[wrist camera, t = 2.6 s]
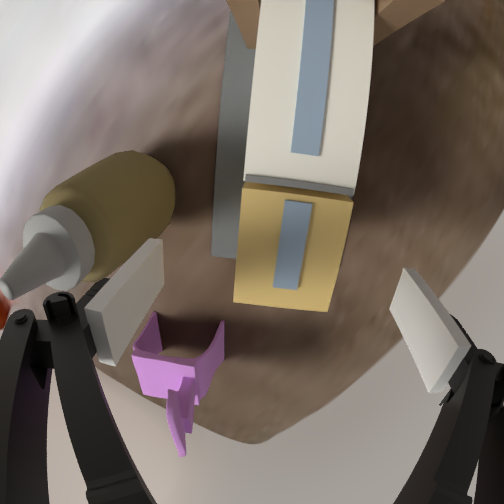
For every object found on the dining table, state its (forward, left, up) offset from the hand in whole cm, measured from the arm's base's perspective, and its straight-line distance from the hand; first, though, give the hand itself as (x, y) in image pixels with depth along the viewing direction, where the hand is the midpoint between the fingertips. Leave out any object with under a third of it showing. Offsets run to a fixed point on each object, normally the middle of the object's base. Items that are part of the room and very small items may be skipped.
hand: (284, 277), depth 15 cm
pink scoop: (+16, -9, -12) cm, 22 cm away
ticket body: (-11, 0, -12) cm, 16 cm away
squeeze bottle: (-1, -12, -12) cm, 17 cm away
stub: (-2, 0, -12) cm, 12 cm away
